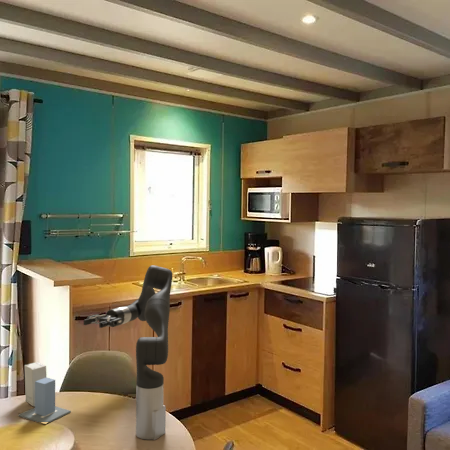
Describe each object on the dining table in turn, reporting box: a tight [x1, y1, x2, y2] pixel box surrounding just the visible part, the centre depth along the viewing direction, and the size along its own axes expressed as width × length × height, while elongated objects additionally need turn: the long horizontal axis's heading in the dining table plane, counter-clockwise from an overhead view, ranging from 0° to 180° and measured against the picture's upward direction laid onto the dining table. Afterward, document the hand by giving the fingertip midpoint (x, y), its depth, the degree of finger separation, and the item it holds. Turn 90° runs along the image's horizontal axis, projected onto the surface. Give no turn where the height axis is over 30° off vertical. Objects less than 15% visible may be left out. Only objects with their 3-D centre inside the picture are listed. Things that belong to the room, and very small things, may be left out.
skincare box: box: [24, 361, 48, 407], centre depth 188 cm, size 8×6×15 cm
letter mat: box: [18, 405, 72, 423], centre depth 177 cm, size 14×12×1 cm
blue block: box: [34, 377, 56, 416], centre depth 177 cm, size 5×5×12 cm
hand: (92, 324), depth 193 cm, fingers open, 8 cm apart
